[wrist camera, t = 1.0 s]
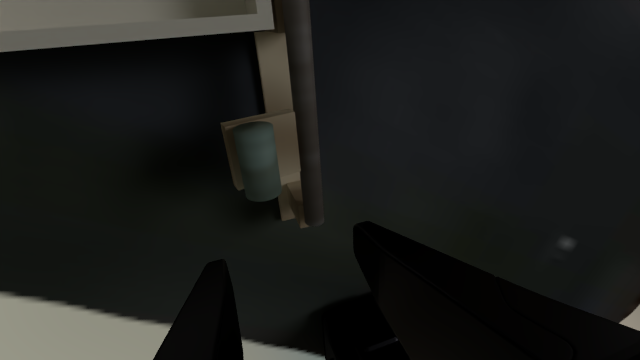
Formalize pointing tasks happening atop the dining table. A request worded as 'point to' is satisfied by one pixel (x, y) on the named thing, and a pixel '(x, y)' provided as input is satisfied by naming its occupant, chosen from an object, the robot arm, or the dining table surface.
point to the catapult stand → (279, 101)
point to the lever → (283, 129)
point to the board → (123, 20)
